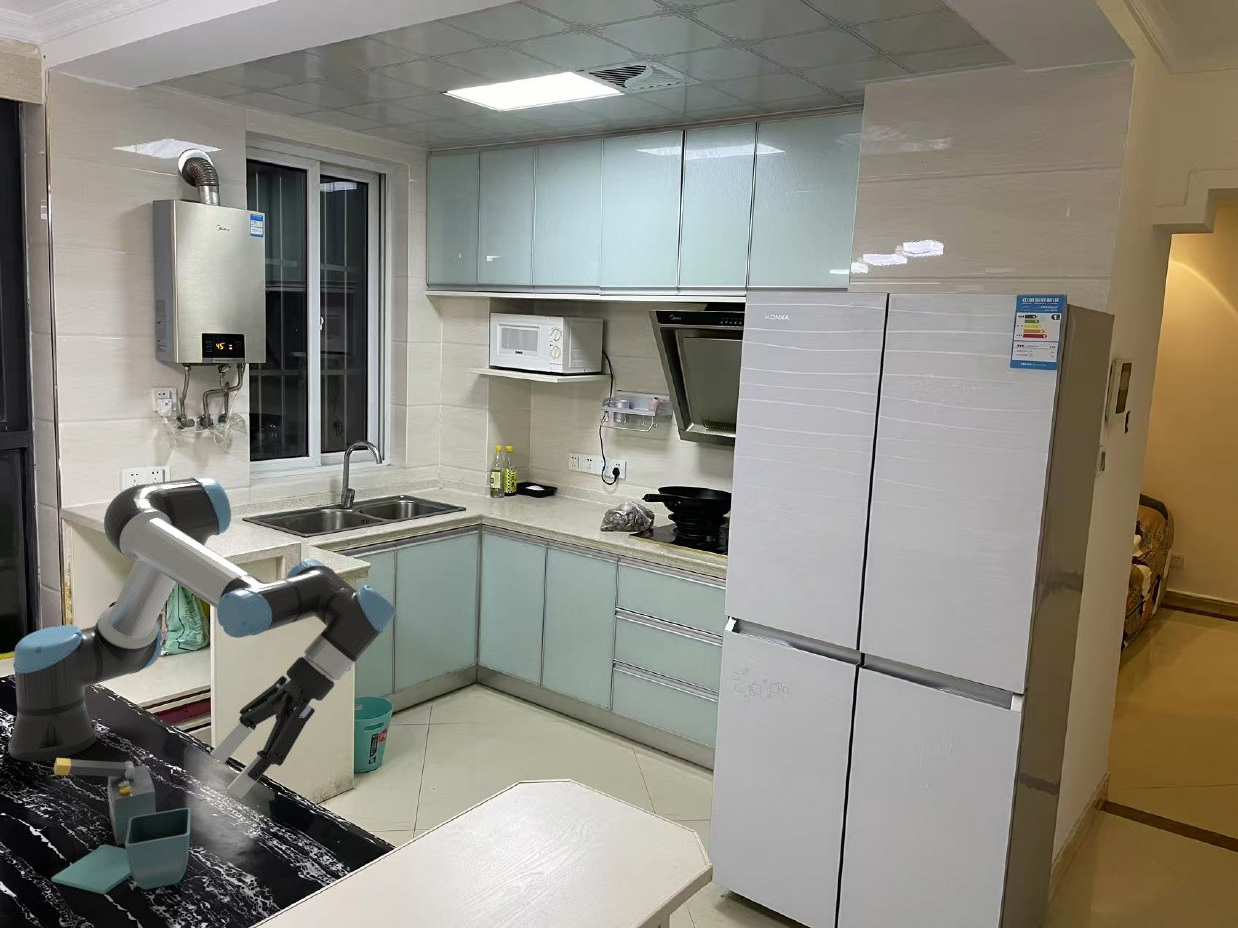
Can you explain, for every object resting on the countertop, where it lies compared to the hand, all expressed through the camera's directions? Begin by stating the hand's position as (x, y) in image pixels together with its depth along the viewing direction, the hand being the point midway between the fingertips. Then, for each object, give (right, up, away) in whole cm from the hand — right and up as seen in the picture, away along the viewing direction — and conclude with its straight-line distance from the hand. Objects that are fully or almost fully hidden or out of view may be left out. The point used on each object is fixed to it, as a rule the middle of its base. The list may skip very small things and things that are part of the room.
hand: (224, 775), depth 147 cm
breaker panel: (-21, -12, +12) cm, 27 cm away
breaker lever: (-22, -3, +12) cm, 25 cm away
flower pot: (-9, -15, -3) cm, 18 cm away
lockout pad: (-18, -14, -1) cm, 23 cm away
